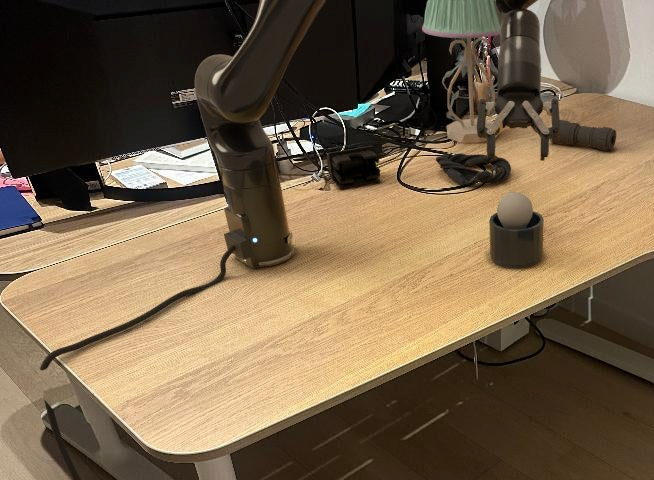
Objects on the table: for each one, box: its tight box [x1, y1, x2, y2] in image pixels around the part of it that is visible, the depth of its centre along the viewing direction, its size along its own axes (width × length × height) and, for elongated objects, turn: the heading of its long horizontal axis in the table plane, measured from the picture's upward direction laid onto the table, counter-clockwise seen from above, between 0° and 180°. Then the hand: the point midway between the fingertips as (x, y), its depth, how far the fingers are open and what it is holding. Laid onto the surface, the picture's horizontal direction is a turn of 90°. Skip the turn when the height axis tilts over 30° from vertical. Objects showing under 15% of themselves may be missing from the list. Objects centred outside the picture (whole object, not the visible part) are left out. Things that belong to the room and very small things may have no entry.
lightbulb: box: [496, 191, 534, 229], centre depth 128 cm, size 6×6×11 cm
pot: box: [488, 210, 545, 269], centre depth 130 cm, size 9×9×7 cm
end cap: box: [326, 145, 382, 191], centre depth 161 cm, size 10×7×7 cm
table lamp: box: [421, 0, 501, 144], centre depth 176 cm, size 22×22×40 cm
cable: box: [435, 153, 512, 187], centre depth 164 cm, size 17×14×4 cm
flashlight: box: [549, 119, 617, 152], centre depth 177 cm, size 15×5×5 cm, turn 62°
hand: (517, 158), depth 128 cm, fingers open, 8 cm apart
